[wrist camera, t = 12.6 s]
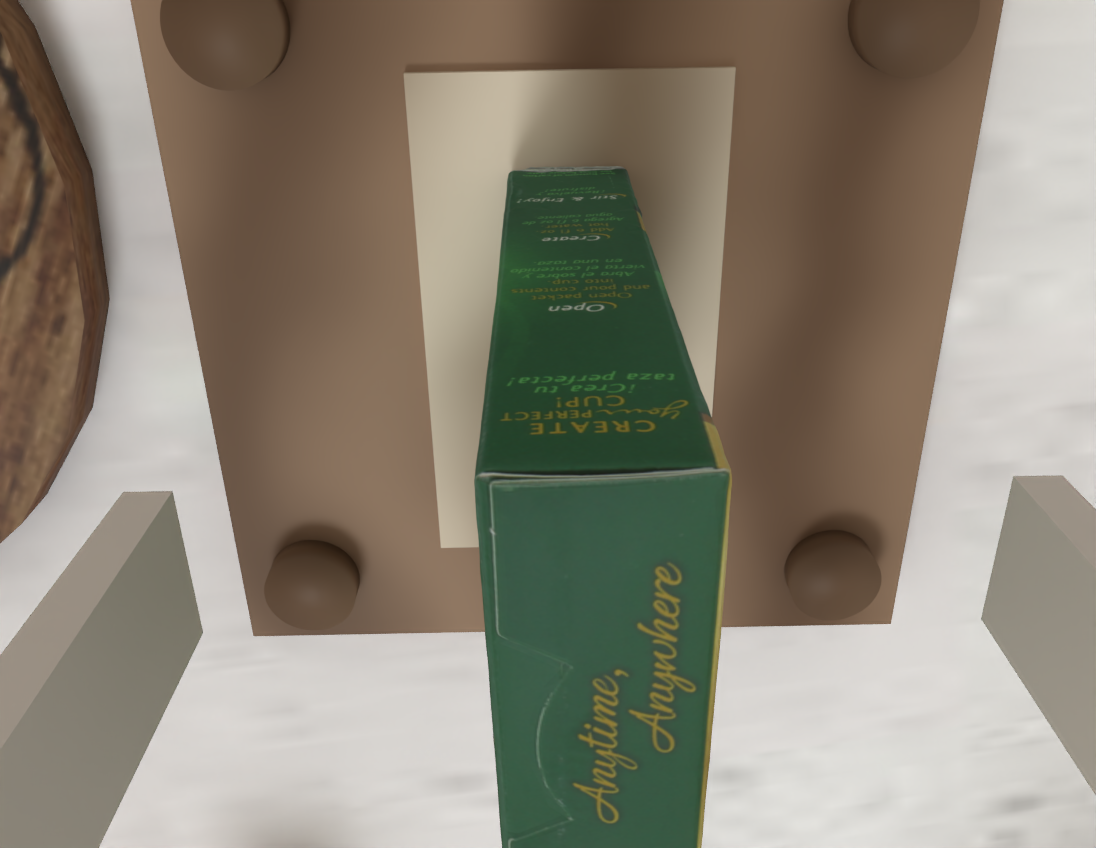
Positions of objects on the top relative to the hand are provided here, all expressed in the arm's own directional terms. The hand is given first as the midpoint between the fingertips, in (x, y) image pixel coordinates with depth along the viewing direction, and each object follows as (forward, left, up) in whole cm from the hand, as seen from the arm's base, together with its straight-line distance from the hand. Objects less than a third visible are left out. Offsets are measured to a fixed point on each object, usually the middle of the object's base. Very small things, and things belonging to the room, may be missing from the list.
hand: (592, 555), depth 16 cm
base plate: (0, 0, -11) cm, 11 cm away
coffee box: (0, 0, -9) cm, 9 cm away
